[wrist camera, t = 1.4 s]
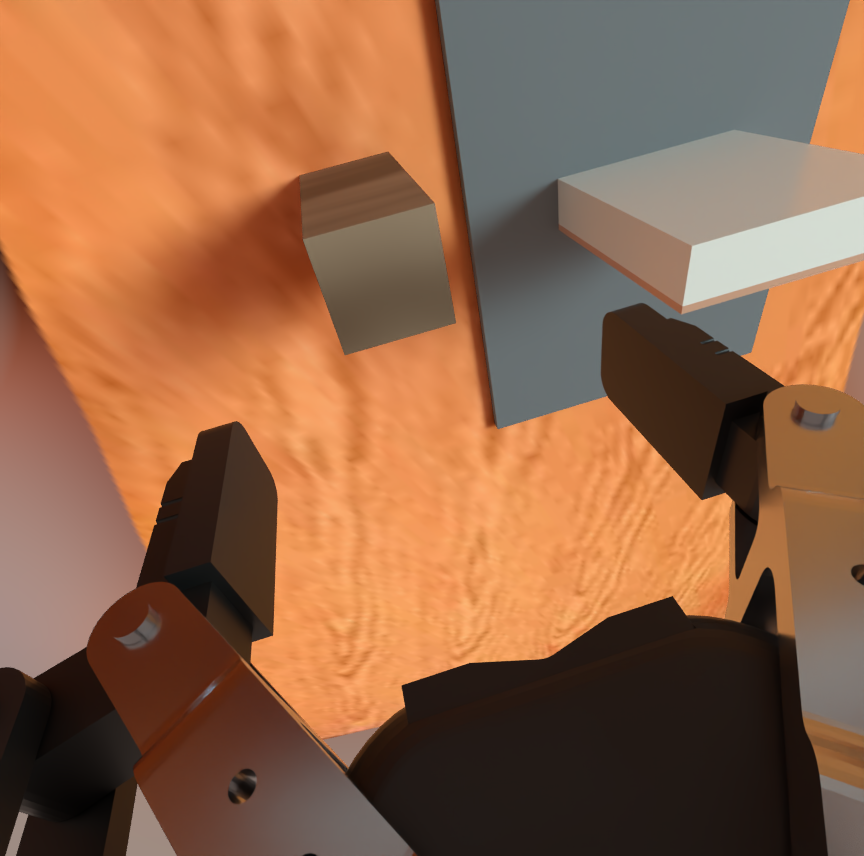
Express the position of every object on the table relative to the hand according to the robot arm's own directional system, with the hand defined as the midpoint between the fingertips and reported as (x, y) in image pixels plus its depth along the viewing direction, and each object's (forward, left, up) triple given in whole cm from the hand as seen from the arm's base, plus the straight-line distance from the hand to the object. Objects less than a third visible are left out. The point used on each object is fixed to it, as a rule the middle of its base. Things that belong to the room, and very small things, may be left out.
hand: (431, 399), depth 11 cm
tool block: (0, 0, -15) cm, 15 cm away
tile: (+2, +14, -15) cm, 20 cm away
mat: (+4, +14, -15) cm, 21 cm away
